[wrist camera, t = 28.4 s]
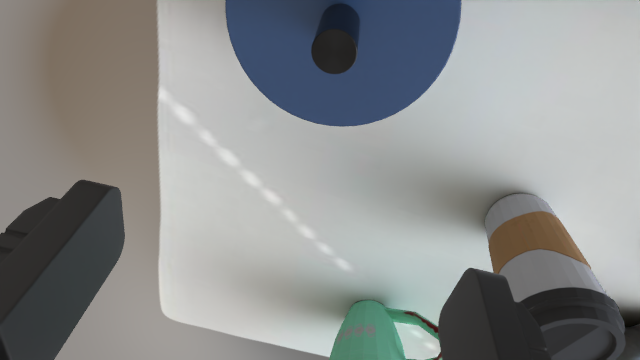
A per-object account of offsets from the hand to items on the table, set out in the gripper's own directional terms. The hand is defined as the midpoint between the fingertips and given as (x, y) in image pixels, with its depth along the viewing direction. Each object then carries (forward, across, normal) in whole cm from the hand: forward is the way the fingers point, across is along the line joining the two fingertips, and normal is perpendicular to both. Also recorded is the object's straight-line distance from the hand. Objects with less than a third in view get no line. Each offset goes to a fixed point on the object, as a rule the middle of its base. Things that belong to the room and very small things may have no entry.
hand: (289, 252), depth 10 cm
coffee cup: (+28, -22, +17) cm, 40 cm away
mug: (+28, -14, +36) cm, 48 cm away
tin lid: (+19, 0, 0) cm, 19 cm away
